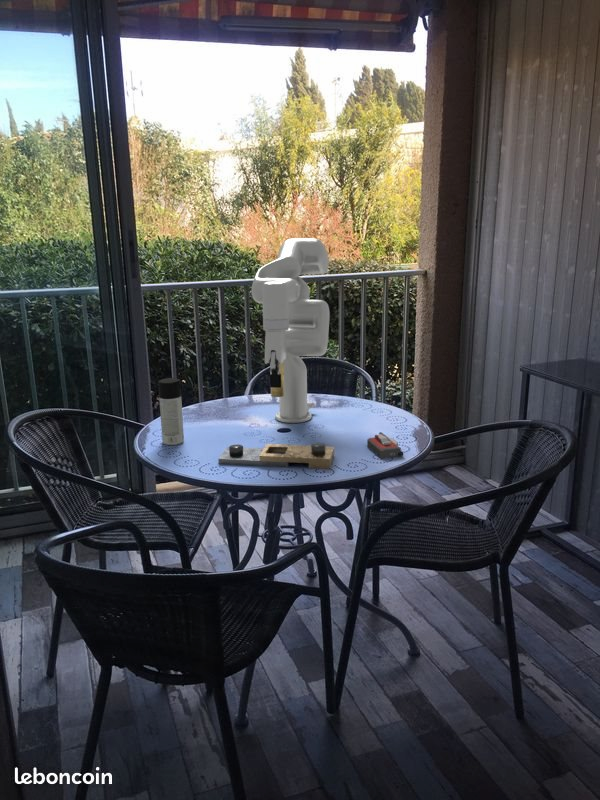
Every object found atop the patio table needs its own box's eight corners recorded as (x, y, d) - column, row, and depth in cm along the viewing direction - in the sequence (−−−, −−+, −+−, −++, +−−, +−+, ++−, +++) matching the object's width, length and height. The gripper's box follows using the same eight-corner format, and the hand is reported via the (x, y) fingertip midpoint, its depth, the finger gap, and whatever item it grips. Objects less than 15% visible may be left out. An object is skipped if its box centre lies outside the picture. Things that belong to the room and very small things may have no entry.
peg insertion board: (227, 451, 199) (227, 435, 198) (334, 456, 194) (334, 440, 193) (218, 463, 190) (217, 447, 188) (330, 469, 185) (330, 452, 183)
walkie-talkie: (410, 458, 193) (383, 436, 212) (410, 443, 192) (383, 423, 211) (382, 461, 191) (357, 439, 210) (382, 447, 190) (357, 426, 208)
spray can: (188, 441, 209) (184, 379, 203) (173, 447, 203) (169, 384, 198) (173, 437, 212) (169, 376, 207) (157, 443, 207) (153, 381, 202)
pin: (276, 392, 202) (276, 354, 199) (287, 394, 200) (286, 355, 197) (268, 395, 199) (267, 356, 196) (278, 397, 197) (277, 358, 194)
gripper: (269, 319, 202) (270, 378, 207) (257, 329, 186) (259, 392, 191) (293, 320, 201) (294, 378, 206) (283, 329, 185) (284, 393, 190)
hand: (277, 384), depth 199 cm, fingers closed on pin, 4 cm apart
